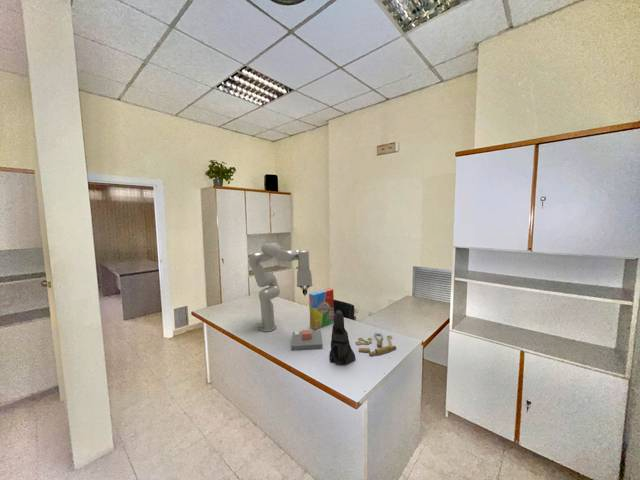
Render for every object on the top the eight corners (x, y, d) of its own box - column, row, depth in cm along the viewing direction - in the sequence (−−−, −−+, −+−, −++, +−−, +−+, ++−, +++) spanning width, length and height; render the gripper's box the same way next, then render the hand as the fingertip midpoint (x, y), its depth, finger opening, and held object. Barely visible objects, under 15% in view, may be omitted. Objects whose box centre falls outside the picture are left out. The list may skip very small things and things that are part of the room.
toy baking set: (377, 330, 187) (376, 325, 187) (407, 343, 167) (407, 338, 167) (345, 346, 167) (345, 340, 166) (376, 362, 147) (376, 356, 147)
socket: (291, 350, 162) (291, 344, 162) (293, 335, 182) (292, 330, 182) (322, 348, 163) (322, 343, 163) (320, 334, 183) (320, 329, 183)
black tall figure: (339, 368, 141) (337, 316, 138) (324, 358, 152) (322, 309, 149) (357, 359, 149) (356, 310, 146) (341, 350, 160) (340, 304, 158)
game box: (314, 330, 190) (312, 295, 187) (309, 328, 194) (308, 293, 191) (334, 322, 203) (333, 289, 200) (330, 320, 207) (329, 287, 204)
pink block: (302, 344, 170) (302, 334, 169) (302, 340, 176) (302, 330, 175) (311, 343, 170) (311, 333, 169) (311, 339, 176) (310, 329, 175)
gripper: (292, 270, 167) (293, 297, 169) (315, 269, 168) (316, 296, 169) (293, 267, 174) (294, 293, 176) (314, 266, 175) (315, 292, 177)
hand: (305, 294), depth 173 cm, fingers closed
